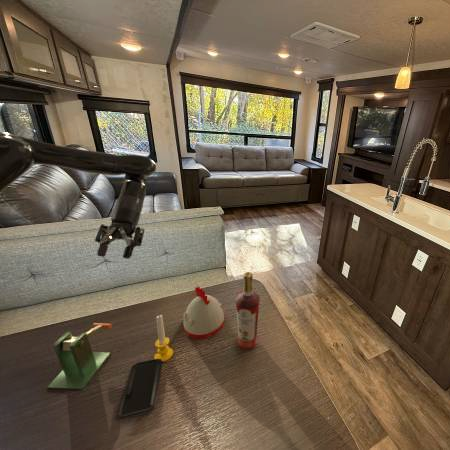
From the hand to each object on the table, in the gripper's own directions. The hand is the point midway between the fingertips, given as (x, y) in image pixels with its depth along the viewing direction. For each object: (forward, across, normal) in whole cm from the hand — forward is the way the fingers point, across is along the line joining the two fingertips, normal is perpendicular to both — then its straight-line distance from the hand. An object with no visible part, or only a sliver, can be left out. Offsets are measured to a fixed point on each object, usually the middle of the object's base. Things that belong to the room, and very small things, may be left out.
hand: (113, 257), depth 79 cm
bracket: (+33, 0, +1) cm, 33 cm away
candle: (+28, +19, +8) cm, 35 cm away
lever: (+24, 0, -1) cm, 24 cm away
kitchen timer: (+19, +26, +20) cm, 38 cm away
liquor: (+24, +44, +16) cm, 52 cm away
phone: (+35, +20, +1) cm, 40 cm away
